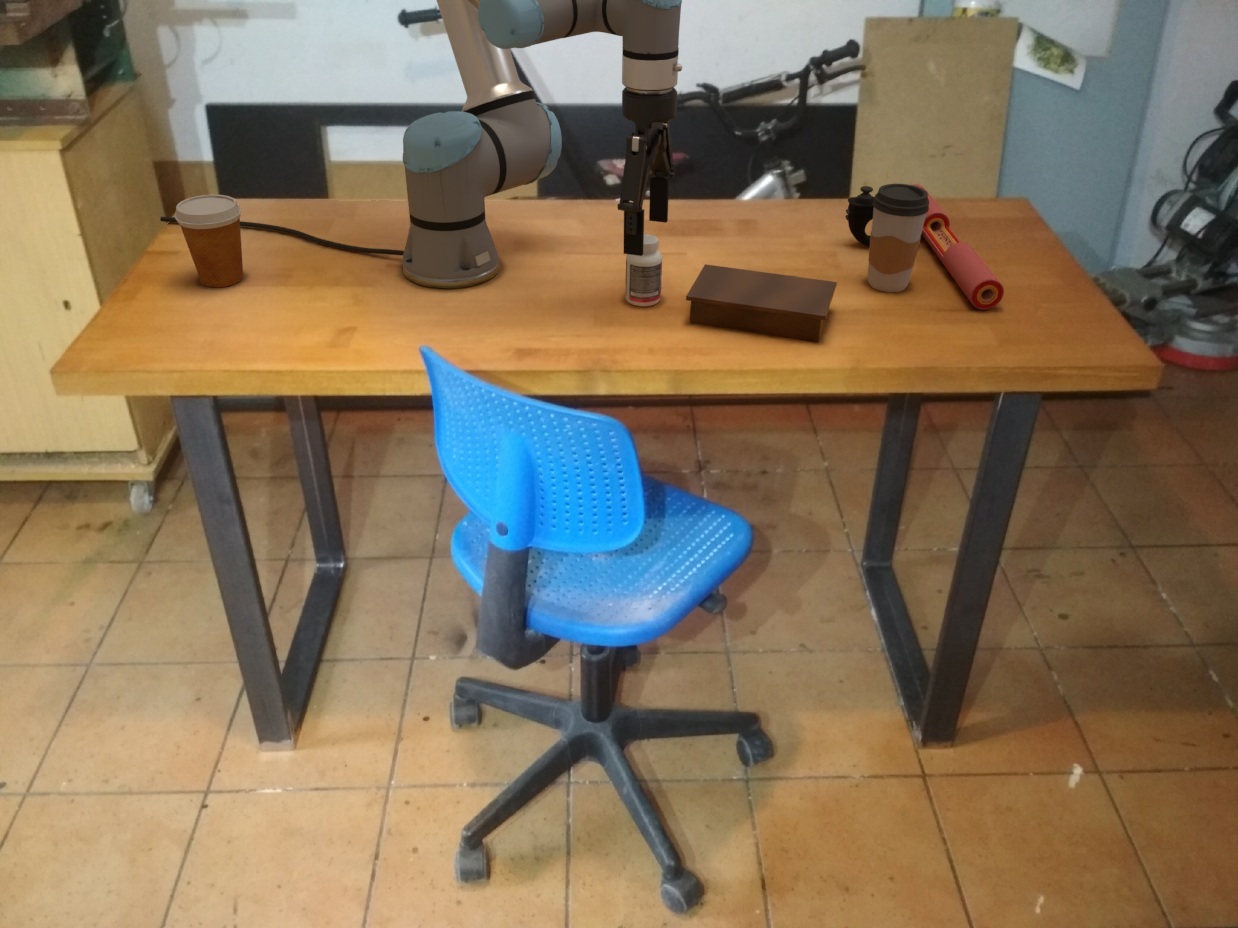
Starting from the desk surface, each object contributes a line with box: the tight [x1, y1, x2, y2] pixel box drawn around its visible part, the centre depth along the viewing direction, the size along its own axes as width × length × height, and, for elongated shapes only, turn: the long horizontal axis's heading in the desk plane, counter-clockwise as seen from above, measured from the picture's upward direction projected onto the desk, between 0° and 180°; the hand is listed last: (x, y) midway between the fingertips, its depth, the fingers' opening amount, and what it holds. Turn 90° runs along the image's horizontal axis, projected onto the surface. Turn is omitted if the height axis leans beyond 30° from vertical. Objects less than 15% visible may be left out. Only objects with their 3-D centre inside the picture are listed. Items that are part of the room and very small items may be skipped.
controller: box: [844, 185, 875, 247], centre depth 178 cm, size 4×12×10 cm, turn 95°
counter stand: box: [685, 263, 838, 343], centre depth 156 cm, size 20×12×4 cm, turn 73°
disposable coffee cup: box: [174, 194, 244, 288], centre depth 162 cm, size 10×10×12 cm
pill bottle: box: [624, 233, 663, 307], centre depth 159 cm, size 5×5×10 cm
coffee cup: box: [866, 183, 929, 293], centre depth 163 cm, size 8×8×15 cm
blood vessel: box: [911, 183, 1005, 311], centre depth 176 cm, size 42×5×5 cm, turn 2°
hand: (646, 237), depth 156 cm, fingers open, 13 cm apart
